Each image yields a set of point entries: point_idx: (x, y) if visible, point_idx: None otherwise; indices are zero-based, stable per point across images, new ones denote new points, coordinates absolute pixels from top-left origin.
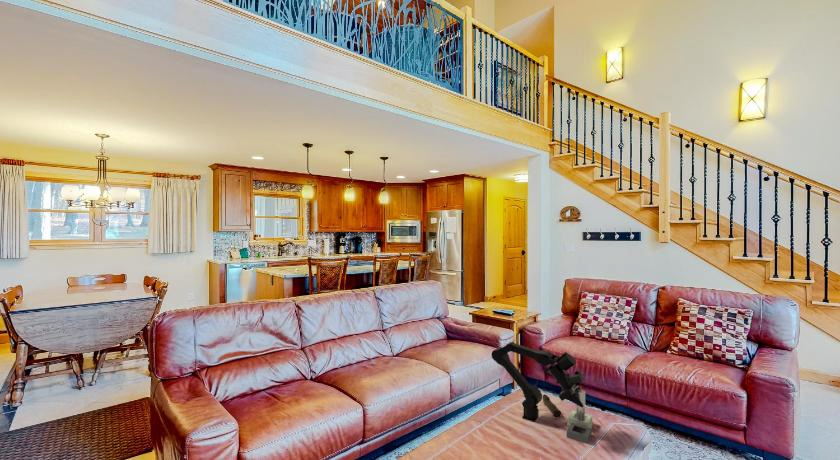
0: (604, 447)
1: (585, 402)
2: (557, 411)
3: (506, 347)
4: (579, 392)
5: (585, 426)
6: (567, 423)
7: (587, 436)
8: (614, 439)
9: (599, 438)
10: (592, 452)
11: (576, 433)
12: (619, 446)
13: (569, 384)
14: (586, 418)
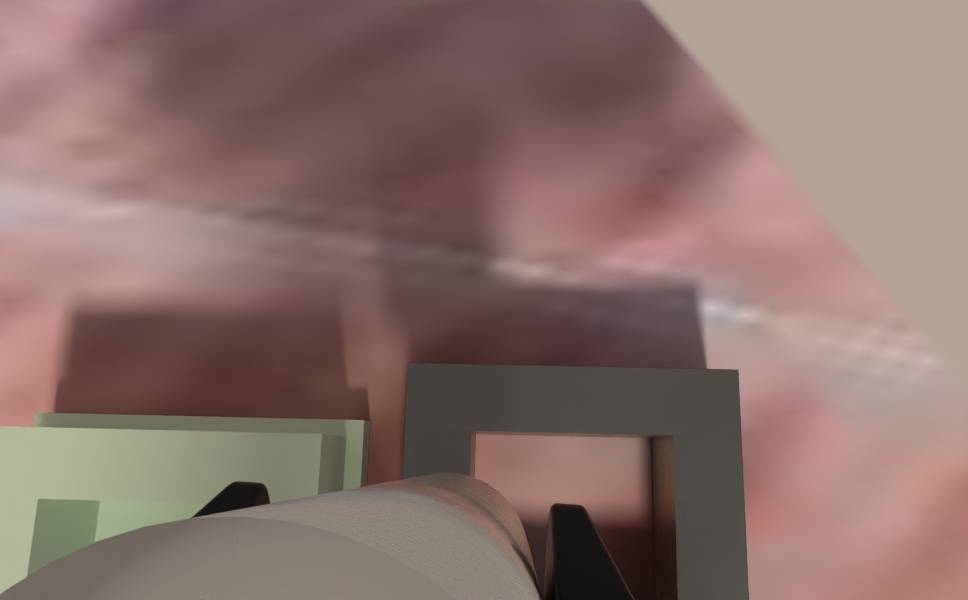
0: (656, 181)
1: (243, 495)
2: None
3: None
4: None
5: (335, 478)
6: None
7: (715, 378)
8: (371, 106)
9: (456, 270)
10: (883, 289)
11: (732, 555)
12: (516, 37)
13: None
14: (149, 494)
